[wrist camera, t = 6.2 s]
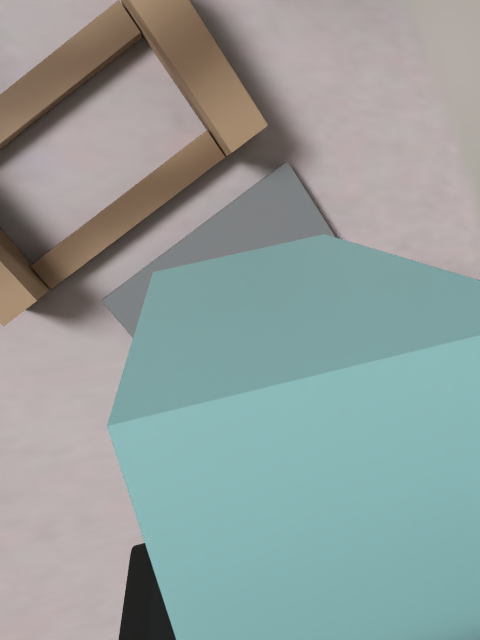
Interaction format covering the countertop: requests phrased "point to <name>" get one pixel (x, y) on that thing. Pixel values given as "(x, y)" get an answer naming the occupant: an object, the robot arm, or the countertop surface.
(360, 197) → the countertop surface
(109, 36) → the frame
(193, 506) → the block
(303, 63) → the countertop surface
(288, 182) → the mat
